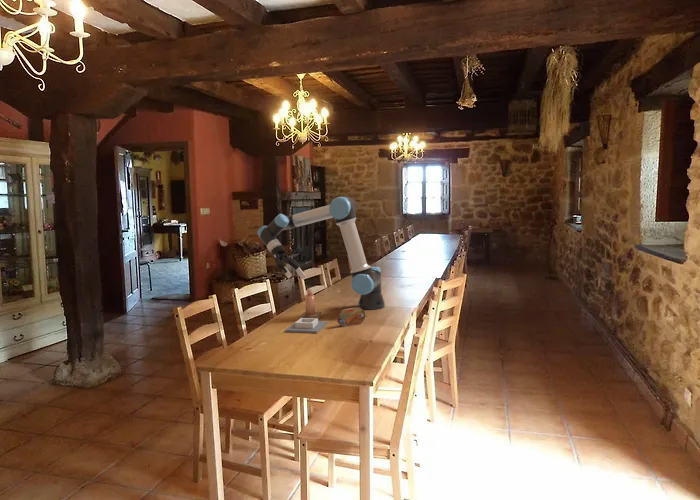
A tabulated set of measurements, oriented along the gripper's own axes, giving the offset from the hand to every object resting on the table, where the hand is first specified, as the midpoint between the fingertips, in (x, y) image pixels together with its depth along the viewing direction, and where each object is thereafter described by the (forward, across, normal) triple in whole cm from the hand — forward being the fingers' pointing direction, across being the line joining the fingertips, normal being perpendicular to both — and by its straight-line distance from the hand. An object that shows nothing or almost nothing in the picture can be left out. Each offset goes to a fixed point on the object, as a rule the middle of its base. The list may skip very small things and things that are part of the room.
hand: (297, 277), depth 278 cm
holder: (+31, +20, -3) cm, 37 cm away
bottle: (+22, +5, -4) cm, 23 cm away
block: (+24, +4, -6) cm, 25 cm away
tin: (+42, +7, +11) cm, 44 cm away
